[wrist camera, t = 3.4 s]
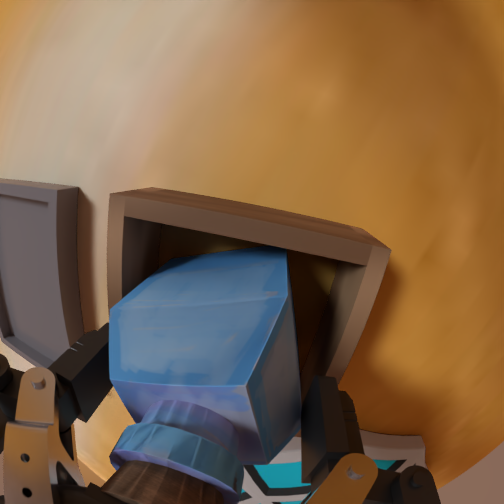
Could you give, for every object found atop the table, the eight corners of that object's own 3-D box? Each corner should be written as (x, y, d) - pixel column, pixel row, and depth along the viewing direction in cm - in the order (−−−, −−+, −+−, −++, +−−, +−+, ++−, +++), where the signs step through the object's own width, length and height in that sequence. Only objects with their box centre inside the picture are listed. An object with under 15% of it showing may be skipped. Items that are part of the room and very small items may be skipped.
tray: (-6, 177, 15) (-22, 180, 13) (78, 186, 14) (57, 189, 12) (13, 333, 19) (1, 341, 17) (93, 380, 19) (82, 394, 17)
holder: (152, 187, 14) (110, 193, 10) (362, 228, 13) (391, 249, 9) (145, 354, 17) (119, 391, 13) (305, 392, 16) (308, 438, 12)
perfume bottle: (171, 258, 15) (0, 412, 3) (285, 242, 14) (286, 492, 2) (197, 352, 16) (119, 523, 5) (298, 345, 15) (300, 552, 4)
